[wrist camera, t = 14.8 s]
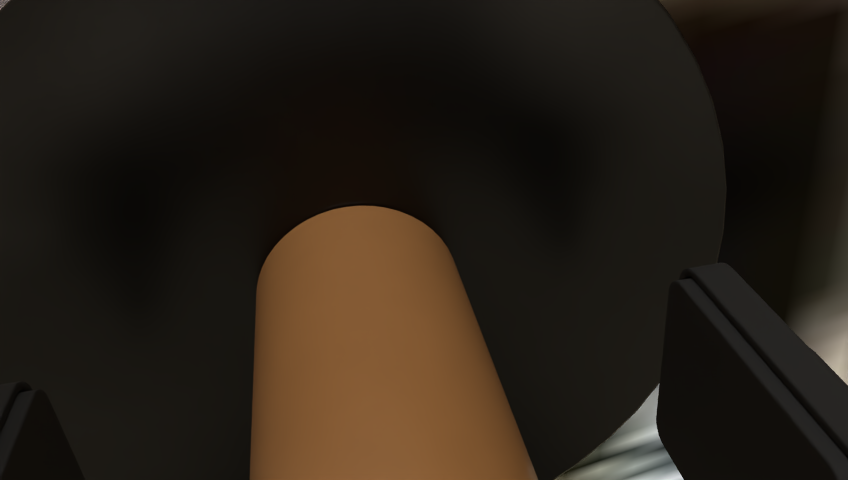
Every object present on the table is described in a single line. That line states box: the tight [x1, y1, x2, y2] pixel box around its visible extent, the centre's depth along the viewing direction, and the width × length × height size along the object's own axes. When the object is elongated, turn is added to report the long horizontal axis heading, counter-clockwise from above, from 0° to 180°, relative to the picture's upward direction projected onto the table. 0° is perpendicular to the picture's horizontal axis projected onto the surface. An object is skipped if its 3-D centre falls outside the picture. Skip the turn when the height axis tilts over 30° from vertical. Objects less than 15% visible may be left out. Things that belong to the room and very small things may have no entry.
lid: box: [0, 0, 727, 480], centre depth 11 cm, size 13×13×8 cm
